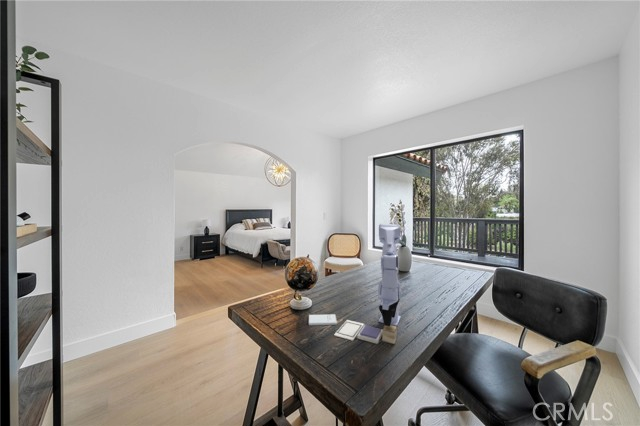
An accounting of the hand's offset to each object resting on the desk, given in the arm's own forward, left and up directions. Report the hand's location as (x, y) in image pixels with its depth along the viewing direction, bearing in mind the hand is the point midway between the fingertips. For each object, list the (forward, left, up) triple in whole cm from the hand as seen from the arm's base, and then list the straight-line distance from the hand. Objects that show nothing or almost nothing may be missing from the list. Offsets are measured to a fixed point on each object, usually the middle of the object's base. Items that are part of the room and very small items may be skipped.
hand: (389, 321), depth 91 cm
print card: (0, -17, -8) cm, 18 cm away
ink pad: (0, -8, -8) cm, 11 cm away
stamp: (0, 0, -8) cm, 8 cm away
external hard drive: (-2, -31, -8) cm, 32 cm away
